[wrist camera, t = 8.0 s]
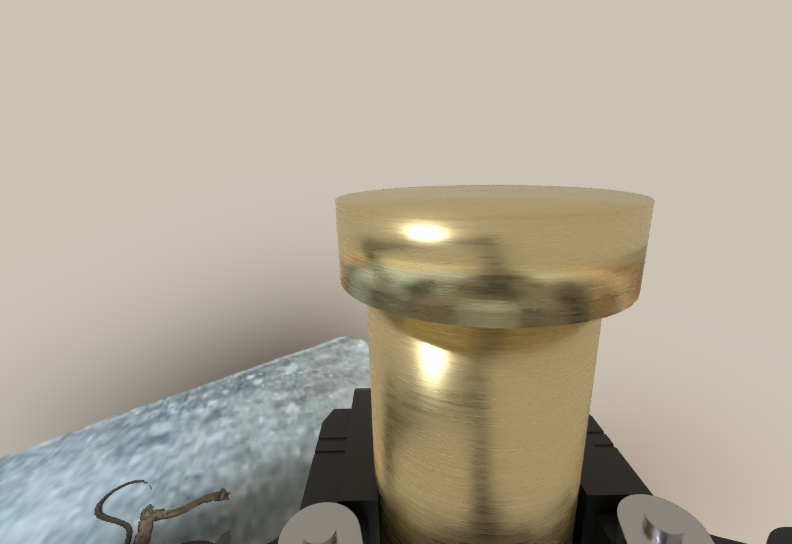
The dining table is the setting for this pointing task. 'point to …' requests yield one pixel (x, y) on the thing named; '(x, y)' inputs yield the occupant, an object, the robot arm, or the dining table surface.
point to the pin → (486, 348)
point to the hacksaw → (159, 515)
